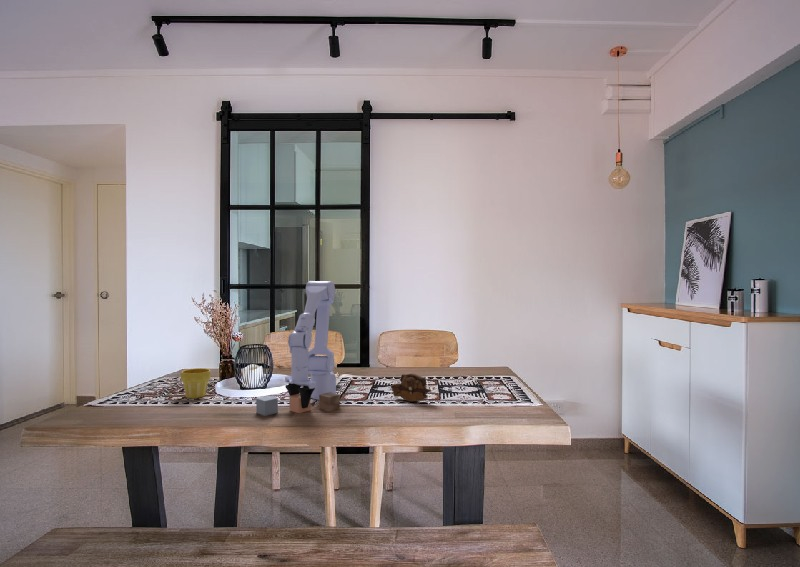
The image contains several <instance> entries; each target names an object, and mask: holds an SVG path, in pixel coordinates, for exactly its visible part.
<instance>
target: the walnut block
mask: <svg viewBox="0 0 800 567" xmlns="http://www.w3.org/2000/svg"><path fill="white" fill-rule="evenodd" d="M340 400H341V394H339V393H337V392H336V393H332V392H328V393H324V394H320V395H319V400H318V401H319V402H318V408H319V410H321V411H325V412H327V413H329V412H332V411H336V410H339V409H341V405H340V404H341V401H340Z"/></svg>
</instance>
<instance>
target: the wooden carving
mask: <svg viewBox="0 0 800 567" xmlns="http://www.w3.org/2000/svg"><path fill="white" fill-rule="evenodd" d="M399 380H400V382H398V383H394V384H392V385H390V388H391V391H392V394H393V395H392V396H393V397H400V398H401V399H403V400H405V401H407V402H420V401H423V400H425V399H428V398H429V397H428V395H427V393H431V392H432V390H431V388H427V386H426V385H427V379H426V377H423V376H421V375H419V374H417V373H407V374H405V373H403V374H401V376H400V379H399Z"/></svg>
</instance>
